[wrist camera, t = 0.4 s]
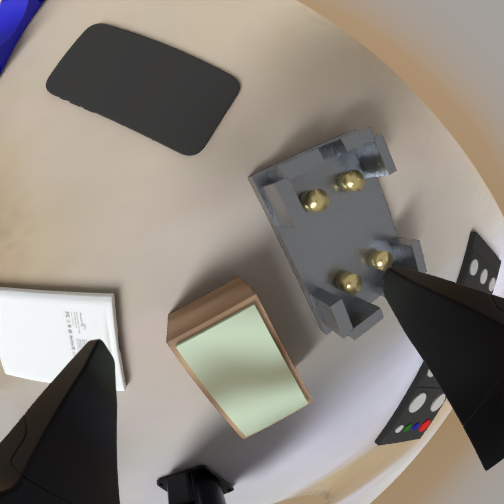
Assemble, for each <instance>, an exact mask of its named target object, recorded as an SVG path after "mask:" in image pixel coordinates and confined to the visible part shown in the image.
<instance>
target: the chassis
mask: <svg viewBox="0 0 504 504" xmlns="http://www.w3.org/2000/svg"><path fill="white" fill-rule="evenodd" d="M395 171H397V170H396V167H395V165H394V162H393V160H392V157H391V155H390V152H389V150H388V147H387V145H386V143H385V140H384V138H383V136H382V134H379V135H376V136H374V134H373V132H372V130H371V127H368V128H365V129H363V130H360V131H358V132H357V131H356V130H353V131H351V132H348V133H346V134H343V135H341V136H339V137H336V138H334V139H331V140H329V141H327V142H324V143H322V144H320V145H317V146H315V147H313V148H311V149H308V150H306V151H304V152H302V153H299V154H297V155H295V156H293V157H291V158H288V159H286V160H284V161H282V162H280V163H278V164H276V165H273V166H271V167H269V168H267V169H265V170H263V171H261V172H259V173H257V174H255V175H253V176H251V177H249V178H248V179H249V181H250V183H251V185H252V187H253V189H254V191H255V193H256V195H257V197H258V199H259V201H260V203H261V205H262V207H263V209H264V211H265V213H266V215H267V217H268V219H269V221H270V223H271V225H272V227H273V229H274V231H275V233H276V235H277V237H278V240H279V242H280V244H281V246H282V248H283V250H284V252H285V254H286V256H287V258H288V260H289V262H290V264H291V266H292V269H293V271H294V273H295V275H296V277H297V279H298V281H299V283H300V285H301V288H302V290H303V292H304V294H305V296H306V298H307V300H308V303H309V305H310V307H311V309H312V311H313V313H314V316H315V318H316V320H317V322H318V324H319V327H320V329H321V331H323V332H324V333H325V334H326V335H327V334H328V333H330V332H331V331H334V332H335V333H337V334H338V335H339V336H341V337H342V338H345V337H346V336H350V337H351V338H353V339H354V340H355V339H357V338H358V337H359V336H361V335H362V334H363V333H365V332H366V331H367V330H369V329H370V328H371V327H372V326H374V325H375V324H376V323H378V322H379V321H380V320H381V319H383V314H382V311H381V308H380V307H378V306H375V305H373V304H371V302H372V301H374V300H375V299H376V298H378V297H379V296H380V295H381V296H384V292H383V287H384V278H385V271H386V269H387V268H389V267H392V266H395V265H399V266H402V267H406V268H409V269H413V270H416V271H419V272H422V273H425V272H426V271H427V270H426V265H425V261H424V257H423V253H422V249H421V245H420V241H419V240H415V239H408V238H401V237H398V236H397V233H396V230H395V227H394V224H393V221H392V218H391V215H390V212H389V209H388V206H387V203H386V201H385V198H384V195H383V193H382V190H381V187H380V185H379V182H378V180H377V177H378V176H386V175H390V174H392V173H393V172H395ZM384 297H385V296H384Z"/></svg>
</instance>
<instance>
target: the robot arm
mask: <svg viewBox="0 0 504 504" xmlns="http://www.w3.org/2000/svg"><path fill="white" fill-rule="evenodd" d="M383 292H384V296H385V298H386V300H387V301H388V303H389V305H390V307H391V308H392V310H393V312H394V314H395V316H396V317H397V319H398V321H399V323H400V325H401V326H402V328H403V330H404V332H405V333H406V335H407V336H408V338H409V339H410V341H411V342H412V344H413V345H414V347H415V348H416V350H417V351H418V353H419V354H420V356H421V357H422V359H423V360H424V362H425V363H426V365H427V367H428V368H429V370H430V371H431V373H432V374H433V376H434V378H435V379H436V381H437V383H438V384H439V386H440V387H441V389H442V391H443V392H444V394H445V396H446V397H447V399H448V401H449V403H450V404H451V406H452V408H453V409H454V411H455V413H456V415H457V417H458V418H459V420H460V422H461V423H462V425H463V428H464V429H465V431H466V433H467V435H468V437H469V439H470V441H471V443H472V445H473V447H474V448H475V450H476V453H477V455H478V457H479V459H480V461H481V463H482V465H483V467H484V469H485V470H486V471H487V470H489V469H490V468H491V467H493V466H494V465H495V464H497V463H498V462H500V461H501V460H502V459H503V458H504V298H501V297H498V296H495V295H492V294H488V293H486V292H483V291H480V290H477V289H474V288H471V287H467V286H464V285H461V284H458V283H455V282H452V281H448V280H445V279H442V278H439V277H436V276H432V275H429V274H426V273H422V272H419V271H416V270H413V269H409V268H406V267H402V266H399V265H395V266H392V267H389V268H387V269H386V271H385V278H384V287H383ZM157 485H158V486H159V487H161V488H162V489H164V490H165V491H167V492H168V503H169V504H226V502H225V498H224V494H226V493H229V492H231V491H233V490H234V488H233V486H232V485H230V484H229V483H228V482H226V481H225V480H224V479H222V478H221V477H220V476H218V475H217V474H216V473H214V472H213V471H212V470H210V469H209V468H208V467H207V466H205V465H201V466H198V467H195V468H192V469H190V470H187V471H184V472H181V473H178V474H175V475H172V476H169V477H166V478H163V479H160V480H157ZM0 504H120V499H119V487H118V472H117V395H116V375H115V361H114V358H113V356H112V354H111V353H110V351H109V350H108V348H107V347H106V345H105V343H104V342H103V341H102V340H101V339H95V340H90V341H88V342H87V343H86V344H85V345H84V346H83V348H82V349H81V350H80V351H79V352H78V353H77V354H76V355H75V356H74V357H73V358H72V360H71V361H70V362H69V363H68V364H67V365H66V366H65V367H64V368H63V370H62V371H61V372H60V373H59V374H58V375H57V376H56V378H55V379H54V380H53V381H52V382H51V383H50V384H49V386H48V387H47V388H46V389H45V390H44V391H43V393H42V394H41V395H40V396H39V397H38V398H37V400H36V401H35V402H34V403H33V404H32V406H31V407H30V408H29V409H28V410H27V412H26V413H25V415H23V417H22V418H21V419H20V420H19V422H18V423H17V424H16V425H15V426H14V428H13V429H12V430H11V431H10V432H9V434H8V435H7V436H6V437H5V438H4V439H3V440H2V441H1V443H0Z"/></svg>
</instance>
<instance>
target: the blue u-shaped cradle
mask: <svg viewBox="0 0 504 504" xmlns="http://www.w3.org/2000/svg"><path fill="white" fill-rule="evenodd" d="M43 2H44V0H2V1H1V4H0V74H1V72H2V70H3V68H4V66H5V64H6V62H7V60H8V58H9V56H10V54H11V52H12V51H13V49H14V47H15V45H16V43H17V42H18V40H19V38H20V37H21V35H22V33H23V32H24V30H25V28H26V27H27V25H28V24H29V22H30V21H31V19H32V17H33V16H34V15H35V13H36V12H37V10H38V9H39V7H40V6H41V5H42V3H43Z"/></svg>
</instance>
